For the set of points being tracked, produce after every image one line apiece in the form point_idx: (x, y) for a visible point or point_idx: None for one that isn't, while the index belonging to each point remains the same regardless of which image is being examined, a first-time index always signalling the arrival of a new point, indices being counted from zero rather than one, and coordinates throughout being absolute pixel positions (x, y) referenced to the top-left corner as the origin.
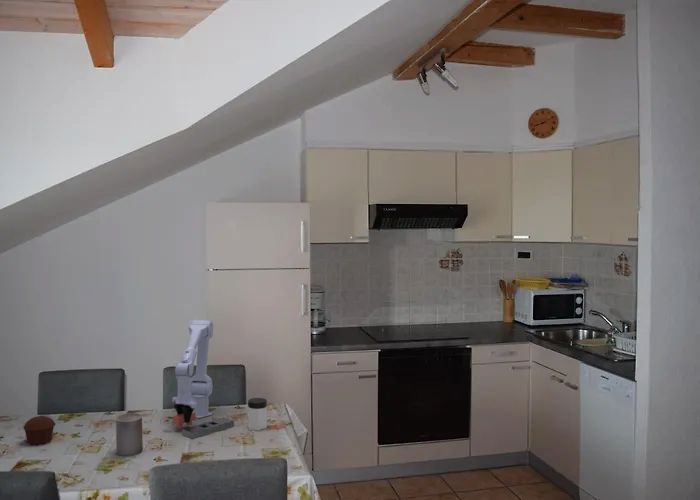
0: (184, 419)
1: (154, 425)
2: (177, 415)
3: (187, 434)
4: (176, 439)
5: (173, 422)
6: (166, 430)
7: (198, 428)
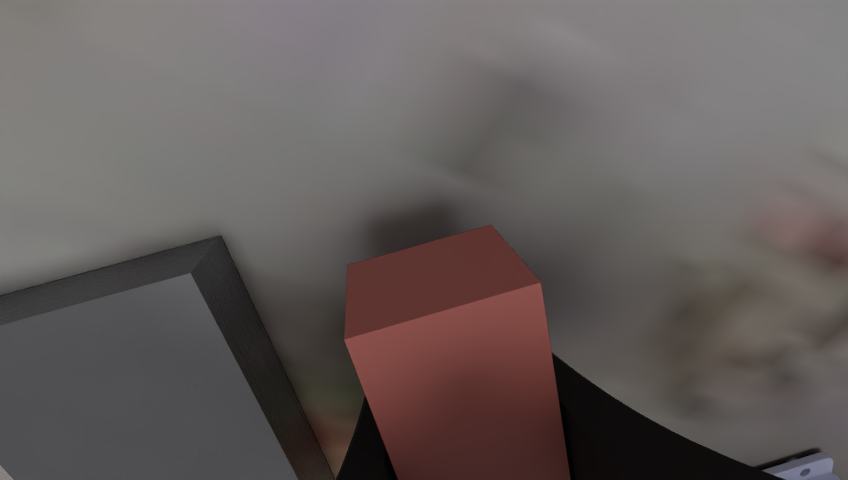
0: None
1: (819, 49)
2: (528, 376)
3: (77, 286)
4: (44, 96)
5: (482, 234)
6: (530, 117)
7: (126, 467)
